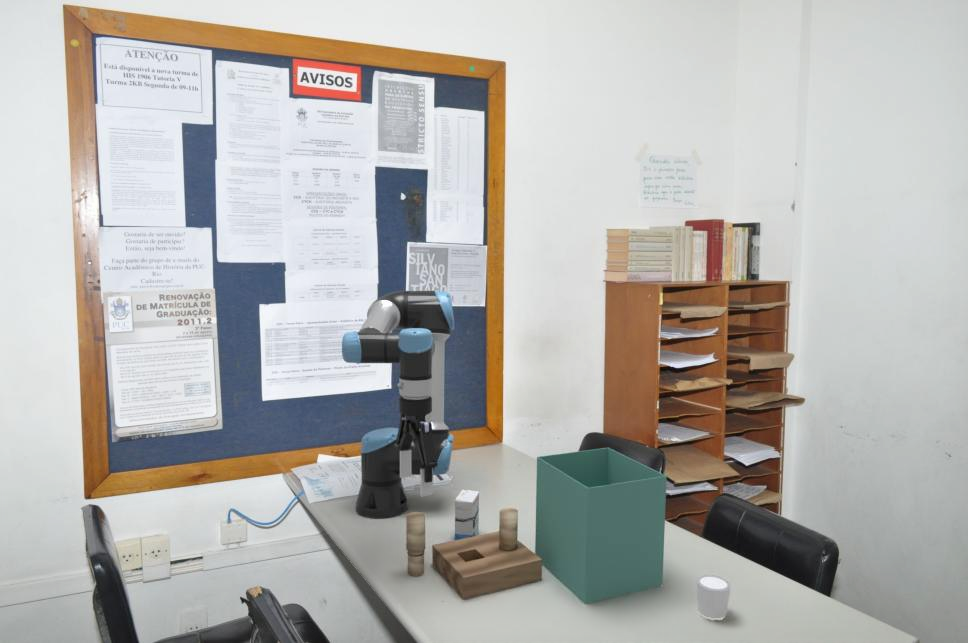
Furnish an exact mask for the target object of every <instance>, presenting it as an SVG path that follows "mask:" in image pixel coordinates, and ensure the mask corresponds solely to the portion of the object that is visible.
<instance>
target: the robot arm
mask: <svg viewBox="0 0 968 643" xmlns="http://www.w3.org/2000/svg"><path fill="white" fill-rule="evenodd" d="M455 328H456V327H455V318H454V309H453V301H452V296H451V294H450V293H449V292H448V291H441V290H440V291H439V290H396V291H393V292H390V293H386V294H384V295H382V296H380V297H379V298H377V299H376V300H374V301H373V302H372V303H371V305H370V306H369V308H368V309H367V312H366V319H365V321H364V322H363V324H362V325H361V327H360V328H359V330H358V331H350V332H346V333H344V334H343V336H342V340H341V356H342V359H343V361H344V362H345V363H348V364H349V363H350V364H356V365H357V364H358V365H359V364H398V365H399V367H398V368H399V373H398V376H399V377H398V378H399V383H397V387H398V388H399V389H398V391H399V392H398V393H399V395H400V397H399V398H398V401H399V402H398V405H399V406H398V408H399V410H398V412H399V413H400V419H399V425H398V426H399V427H383V428H379V429H374V430H372V431H371V430H370V431H369V432H367V433H365V434H364V435H363V436H362V439H361V443H360V444H361V446H360V447H361V448H360V454H361V456H360V457H361V458H360V460H361V464H360V465H361V468H360V470H361V485H360V488H359V491H358V494H357V498H356V501H355V511H356V512H357V514H358V515H359V516H361V517H365V518H372V519H386V518H392V517H396V516H399V515H402V514H404V513H405V512H406V511H407V510H408V508H409V506H408V505H409V503H408V502H409V500H408V497H407V494H406V491H405V488H404V484H403V482H402V481H403V480H402V479H404V478H409V477H412V476H419V477H420V483H419V484H420V486H419V487H420V494H419V495H420V497H428V496H432V495H434V476H435V475H436V476H437V475H438V476H439V475H440V476H441V475H445V474H447V473H448V472H449V471H450V467H451V466H450V465H451V459H452V452H453V445H454V444H453V443H454V438H455V436H454V435H453V434H452V433H450V428H449V427H448V425H447V424H445V362H446V361H445V352H446V350H445V348H446V343H445V342H446V341H447V340H448V339H449V338H450V337H451V331H454V330H455ZM394 330H400V332H392V331H394Z"/></svg>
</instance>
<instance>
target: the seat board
mask: <svg viewBox="0 0 968 643" xmlns="http://www.w3.org/2000/svg"><path fill="white" fill-rule="evenodd" d="M498 514H499V519H498V521H499V522H498V523H499V525H498V527H499V529H498V530H499V531H494V532H489V533H484V534H479V535H477V536H474V537H469V538H464V539H459V540H455V539H454V540H451V541H445V542H440V543H436V544H432V546H431V549H432V550H431V554H432V557H431V558H432V560H431V561H432V562H431V564H432V566H433V567H434V568H435V570H436V571H437V572H438V573H439V574H440V576H441V577H442V578H444V580H446V582H447V583H448V584H449V585H450V586H451V587H452V588H453V590H454V591H455V592H456V593H457V594H458V595H459V596H460V597H461V598H462V600H466V599H467V600H468V599H472V598H475V597H480V596H484V595H487V594H488V595H489V594H491V593H496V592H499V591H504V590H507V589H512V588H515V587H520V586H524V585H527V584H532V583H535V582H539V581H542V579H543V577H542V576H543V575H542V574H543V565H542V559H541V558H540V557H538V556H537V555H536V554H535V552H533V551H532V550H531V549H530V548H528V547H527V546H525V544H523V543H522V542H520V541H519V540H518V533H519V532H518V531H519V530H518V528H519V527H518V523H519V521H518V520H519V512H518V509H516V508H513V507H503V508H500V509H499V513H498Z"/></svg>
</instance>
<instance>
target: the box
mask: <svg viewBox="0 0 968 643" xmlns="http://www.w3.org/2000/svg"><path fill="white" fill-rule="evenodd" d="M667 479H668V478H667V475H665V474H663V473H661V472H659V471H657V470H655V469H653V468H652V467H649V466H647V465H645V464H642V463H641V462H639V461H637V460H635V459H633V458H630V457H628V456H626V455H624V454H622V453H620V452H618V451H616V450H615V449H612V448H611V447H602V448H595V449H588V450H587V449H586V450H581V451H572V452H565V453H557V454H549V455H541V456H540V455H539V456H537V457H536V484H535V485H536V487H535V488H536V494H535V496H536V497H535V499H536V500H535V545H534V547H535V548H534V550H535V551H534V554H536V555H537V556H538V557H540V558H541V559H542V567H543V568H545V569H546V570H547V571H548V572H549V573H551V575H553V576H554V577H555V578H556V579H557V580H558V581H559V582H560V583H561V584H562V585H563V586H564V587H565V588H567V589H568V590H569V591H570V592H571V593H572V594H574V595H575V597H577V599H578V600H580V601H581V602H582V603H583V604H585V605H587V604H591V603H594V602H598V601H599V602H600V601H603V600H604V601H605V600H607V599H611V598H616V597H620V596H625V595H628V594H634V593H638V592H641V591H642V592H643V591H646V589H647V590H649V588H651V589H654V588H653V587H655V588H658V587H657V586H659V587H662V586H663V578H664V577H663V576H664V574H663V573H664V554H665V553H664V551H665V528H666V527H665V526H666V525H665V524H666V506H667V505H666V503H667V499H666V498H667ZM661 585H662V586H661Z"/></svg>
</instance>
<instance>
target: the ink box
mask: <svg viewBox="0 0 968 643" xmlns="http://www.w3.org/2000/svg"><path fill="white" fill-rule="evenodd" d="M479 506H480V491H477V490H470V489H462V490H461V491H460V493H459V494H457V496H456V497H455V500H454V540H459V539H464V538H469V537H474V536H478V534H479V531H480V530H479V525H480V522H479V520H480V519H479V516H480V515H479V514H480V510H479V509H480V507H479Z"/></svg>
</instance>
